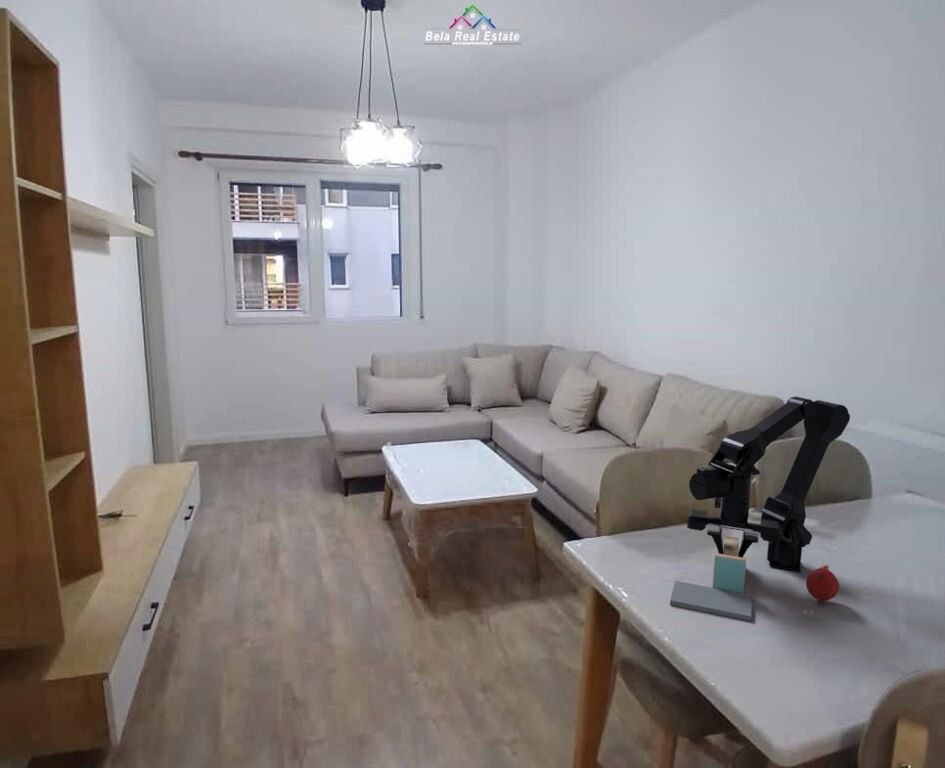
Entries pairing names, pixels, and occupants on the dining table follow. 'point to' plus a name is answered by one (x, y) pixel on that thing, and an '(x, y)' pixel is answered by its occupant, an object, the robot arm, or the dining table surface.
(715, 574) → the tile
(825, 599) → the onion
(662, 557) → the dining table surface
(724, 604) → the mat
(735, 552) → the curved wooden plank
